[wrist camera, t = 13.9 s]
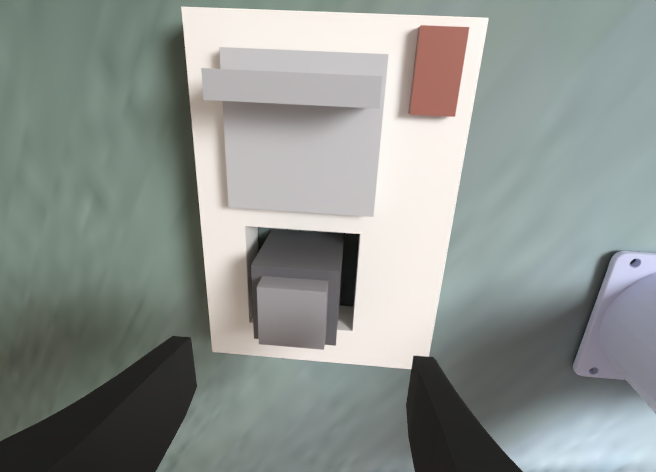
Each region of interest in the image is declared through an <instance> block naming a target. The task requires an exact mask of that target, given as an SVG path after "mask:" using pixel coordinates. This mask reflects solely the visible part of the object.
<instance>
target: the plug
mask: <svg viewBox="0 0 656 472" xmlns="http://www.w3.org/2000/svg"><path fill="white" fill-rule="evenodd" d="M343 245H344V234H336V233H321V232H306V231H292V230H277V229H272V230H271V232H270V234H269V235H268V237H267V239H266V240H265V242H264V244H263V246H262V247H261V249H260V251H259V252H258V254H257V256H256V258H255V259H254V261H253V263H252V264H251V278H252V303H253V329H254V339H259V344H261V345H273V346H285V347H297V348H309V349H320V350H324V346H325V345H335V346H336V338H337V327H338V316H339V306H340V294H341V278H342V261H343Z"/></svg>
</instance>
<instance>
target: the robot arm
mask: <svg viewBox="0 0 656 472" xmlns="http://www.w3.org/2000/svg"><path fill="white" fill-rule="evenodd" d="M633 259H636V261H635V262H634V263H633V264H630V262H631V261H632V260H633ZM593 367H594V368H593ZM591 368H593V369H591ZM573 369H574V371H575V372H576V374H577V375H579V376H584V377H596V378H607V379H619V380H626V381H627V382H628V383H629V384H630V385H631V386H632V387H633V389H634V390H635V391H636V392H637V393H638V394H639V395H640V397H641V398H642V399H643V400H644V401H645V402H646V403H647V405H648V406H649V407H650V408H651V409H652V410H653V411H654V413H655V414H656V253H648V252H633V251H620V252H617V253H616V254H615V255H613V257H612V258H611V261H610V264H609V266H608V269H607V272H606V275H605V278H604V280H603V283H602V286H601V289H600V292H599V294H598V297H597V300H596V303H595V305H594V308H593V311H592V314H591V317H590V319H589V322H588V325H587V328H586V331H585V333H584V336H583V339H582V342H581V344H580V347H579V350H578V353H577V356H576V358H575V361H574V364H573ZM590 369H591V370H590ZM196 387H197V383H196V375H195V367H194V359H193V351H192V343H191V338H190V337H178V336H172V337H171V338H169V339H168V340H166V341H165V342H163V343H162V344H160V345H159V346H158V347H156V348H155V349H154V350H152V351H151V352H149V353H148V354H147V355H145V356H144V357H142V358H141V359H140V360H138V361H137V362H135V363H134V364H133V365H131V366H130V367H128V368H127V369H125V370H124V371H123V372H121V373H120V374H118V375H117V376H115V377H114V378H112V379H111V380H109V381H108V382H106V383H105V384H103V385H102V386H100V387H99V388H97V389H95V390H94V391H92V392H91V393H89V394H88V395H86V396H85V397H83V398H81V399H80V400H78V401H76V402H75V403H73V404H71V405H70V406H68V407H66V408H64V409H63V410H61V411H59V412H57V413H55V414H54V415H52V416H50V417H48V418H46V419H44V420H43V421H41V422H39V423H37V424H35V425H33V426H31V427H29V428H27V429H25V430H23V431H20V432H18V433H16V434H14V435H12V436H10V437H8V438H6V439H4V440H2V441H0V472H156V470H157V468H158V466H159V464H160V462H161V461H162V459H163V457H164V455H165V453H166V451H167V450H168V448H169V446H170V444H171V442H172V440H173V439H174V437H175V435H176V433H177V431H178V429H179V427H180V425H181V424H182V422H183V420H184V418H185V416H186V413H187V411H188V408H189V406H190V403H191V401H192V398H193V395H194V393H195V390H196ZM406 408H407V423H408V435H409V442H410V447H411V453H412V458H413V464H414V469H415V472H523V471H522V470H521V469H520V468H519V467H518V466H517V465H516V464H515V463H514V462H513V461H512V460H511V459H510V458H509V457H508V456H507V455H506V453H505V452H504V451H503V450H502V449H501V448H500V447H499V446H498V444H497V443H496V442H495V441H494V440H493V439H492V437H491V436H490V435H489V434H488V433H487V431H486V430H485V429H484V428H483V427H482V425H481V424H480V423H479V422H478V420H477V419H476V418H475V416H474V415H473V414H472V412H471V411H470V410H469V408H468V407H467V406H466V404H465V403H464V402H463V400H462V399H461V398H460V396H459V395H458V393H457V392H456V390H455V389H454V387H453V386H452V384H451V383H450V382H449V380H448V378H447V377H446V375H445V374H444V372H443V371H442V369H441V368H440V366H439V364H438V363H437V361H436V360H435V359H434V358H433V357H426V356H414V355H413V362H412V369H411V376H410V383H409V389H408V396H407V403H406Z"/></svg>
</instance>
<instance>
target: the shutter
mask: <svg viewBox="0 0 656 472" xmlns="http://www.w3.org/2000/svg"><path fill="white" fill-rule="evenodd" d="M219 51H220V68H221V69H211V68H201V72H202V85H203V98H204V100H216V101H222V102H223V119H224V136H225V153H226V170H227V187H228V204H229V207H232V208H247V209H262V210H277V211H293V212H308V213H323V214H338V215H353V216H368V217H373V216H374V205H375V194H376V184H377V173H378V162H379V151H380V140H381V130H382V119H383V108H384V97H385V86H386V76H387V65H388V54H372V53H348V52H324V51H301V50H277V49H253V48H229V47H219Z"/></svg>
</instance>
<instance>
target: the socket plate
mask: <svg viewBox="0 0 656 472" xmlns="http://www.w3.org/2000/svg"><path fill="white" fill-rule="evenodd" d="M181 8H182V19H183V30H184V41H185V52H186V64H187V75H188V86H189V97H190V108H191V119H192V130H193V142H194V153H195V164H196V175H197V186H198V197H199V209H200V220H201V231H202V242H203V253H204V264H205V276H206V287H207V298H208V309H209V320H210V331H211V343H212V352H220V353H231V354H243V355H254V356H266V357H277V358H288V359H300V360H311V361H323V362H334V363H345V364H357V365H368V366H380V367H391V368H402V369H412V362H413V355H414V356H426V357H429V353H430V347H431V341H432V336H433V330H434V324H435V319H436V313H437V307H438V302H439V296H440V290H441V285H442V279H443V274H444V268H445V262H446V257H447V251H448V245H449V240H450V234H451V228H452V223H453V217H454V211H455V206H456V200H457V194H458V189H459V183H460V177H461V172H462V166H463V160H464V155H465V149H466V144H467V138H468V132H469V127H470V121H471V115H472V110H473V104H474V98H475V93H476V87H477V81H478V76H479V70H480V64H481V59H482V53H483V47H484V42H485V36H486V30H487V25H488V19H489V18H477V17H450V16H422V15H395V14H367V13H340V12H312V11H285V10H257V9H230V8H202V7H181ZM219 47H229V48H253V49H277V50H301V51H324V52H348V53H372V54H388V65H387V76H386V86H385V97H384V108H383V119H382V130H381V140H380V151H379V162H378V173H377V184H376V194H375V205H374V216H373V217H368V216H353V215H338V214H323V213H308V212H293V211H277V210H262V209H247V208H232V207H229V204H228V187H227V170H226V153H225V136H224V119H223V102H222V101H216V100H204V98H203V85H202V72H201V68H211V69H221V68H220V51H219ZM258 227H267V228H281V229H296V230H310V231H325V232H339V233H354V234H359V241H358V254H357V266H356V279H355V292H354V304H353V306H341V305H340V306H339V316H338V327H337V338H336V346H335V345H325V346H324V350H320V349H309V348H297V347H285V346H273V345H261V344H259V339H254V329H253V303H252V278H251V264H252V263H253V261H254V259H255V258H256V256H257V254H258Z"/></svg>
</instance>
